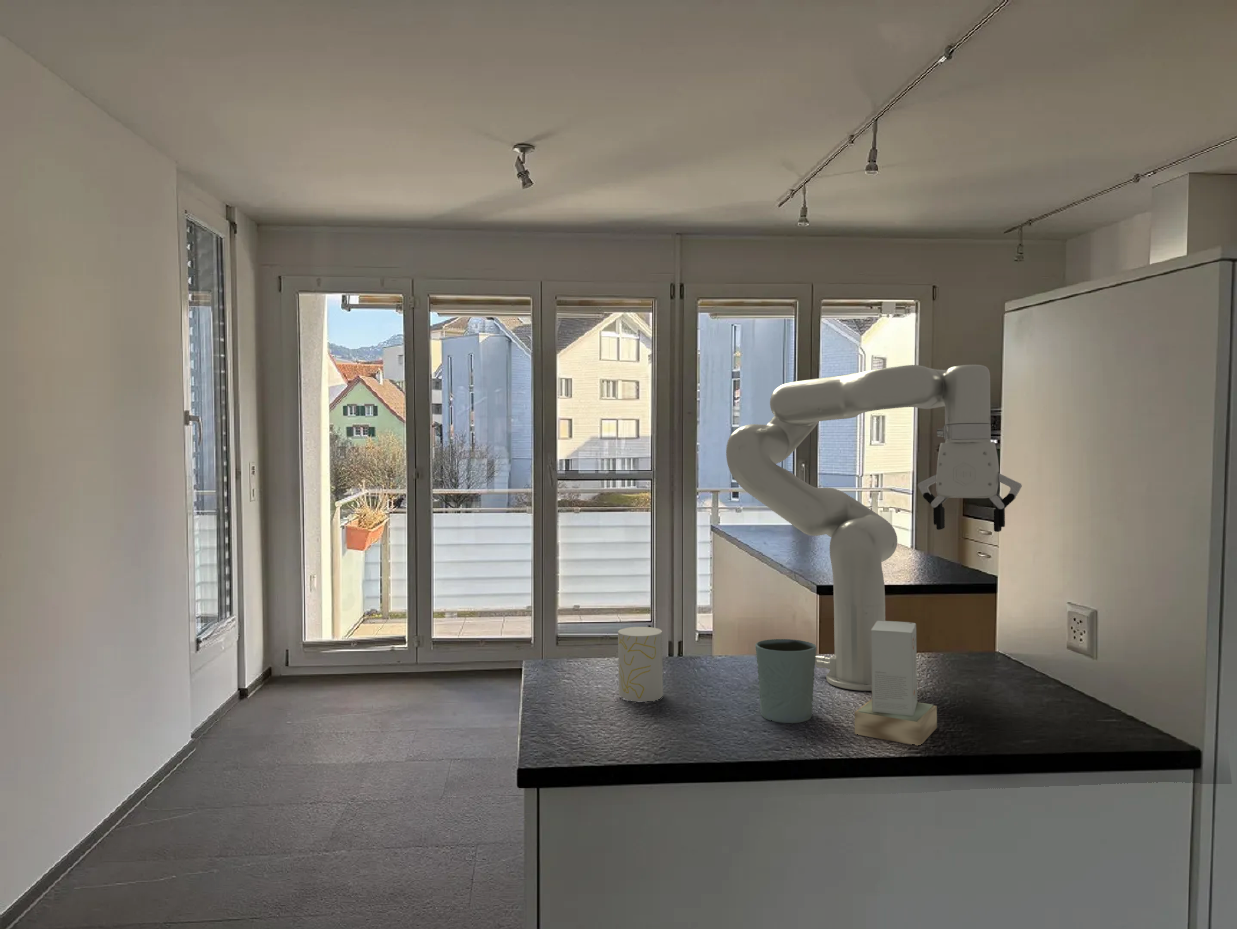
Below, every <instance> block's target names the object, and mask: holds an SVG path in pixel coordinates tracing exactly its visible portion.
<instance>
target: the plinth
mask: <svg viewBox="0 0 1237 929" xmlns="http://www.w3.org/2000/svg"><path fill="white" fill-rule="evenodd" d="M937 710H938V706H937V705H934V704H933V703H931V704H930V703H926V702H925V703H924V702H919V701H917V705H916V709H915V712H914V715H913V716H907V715H897V714H888V713H878V712H873V711H872V698H871V699H869V700H868V701H867V702H866V703H865V704H863V705H861V706H860V707H859V708H858V709H857V710H855V711H854V735H857V734H858V736H863V737H869V738H874V739H879V740H886V741H889V742H891V741H892V742H895V743H896V742H897V743H901V744H908V745H912V744H915V745H914V746H918V745H921V744H922V745H923V744H924V743H925V741H926V740H927V739H928V738H929V737H930V736H931V735H932V734H933V733H934V731H936V729H937V728H938V715H937V714H938V711H937ZM922 745H921V746H922Z"/></svg>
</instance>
